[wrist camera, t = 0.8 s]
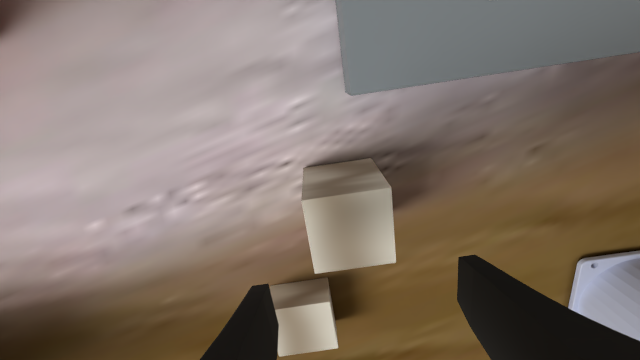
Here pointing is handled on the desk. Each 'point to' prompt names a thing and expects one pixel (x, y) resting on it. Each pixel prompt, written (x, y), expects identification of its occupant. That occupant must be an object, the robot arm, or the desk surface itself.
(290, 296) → the short peg
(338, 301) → the desk surface
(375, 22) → the hole board
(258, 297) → the robot arm
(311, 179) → the cream square block
